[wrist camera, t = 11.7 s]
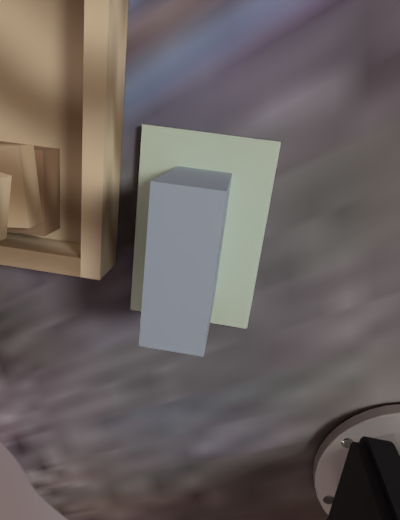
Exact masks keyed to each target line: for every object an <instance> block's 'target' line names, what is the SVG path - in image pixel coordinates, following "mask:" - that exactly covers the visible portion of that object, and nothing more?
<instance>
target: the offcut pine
mask: <svg viewBox="0 0 400 520" xmlns="http://www.w3.org/2000/svg"><path fill="white" fill-rule="evenodd" d="M11 180H12V175H8V174H5V173H1V172H0V241H1V240H3V239H5V238H6V237H7V226H8V214H9V203H10V191H11Z"/></svg>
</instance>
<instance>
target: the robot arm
mask: <svg viewBox="0 0 400 520" xmlns="http://www.w3.org/2000/svg"><path fill="white" fill-rule="evenodd" d="M313 480H314V486H315V490H316V495H317V498H318V500H319V502H320V504H321V506H322V508H323V510H324V511H325V512H326V514H327V515H328V519H327V520H400V404H397V405H387V406H382V407H378V408H374V409H370V410H367V411H365V412H362V413H360V414H358V415H355V416H353V417H351V418H350V419H348V420H346V421H345V422H343V423H342V424H340V425H339V426H337V427H336V428H335V429H334V430H333V431H332V432H331V433H330V434H329V435H328V436H327V437H326V439H325V440H324V441H323V443H322V444H321V445H320V447H319V449H318V452H317V454H316V456H315V459H314V465H313Z"/></svg>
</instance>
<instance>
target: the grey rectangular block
mask: <svg viewBox="0 0 400 520" xmlns="http://www.w3.org/2000/svg"><path fill="white" fill-rule="evenodd" d="M231 179H232V173H228V172H220V171H213V170H205V169H198V168H190V167H182V166H178V167H176V168H174V169H172V170H170V171H168V172H167V173H165V174H163V175H161V176H159V177H157V178H156V179H154V180H152V181H151V183H150V197H149V211H148V225H147V239H146V253H145V267H144V281H143V295H142V309H141V323H140V337H139V346H142V347H148V348H154V349H160V350H166V351H172V352H178V353H184V354H190V355H196V356H203V357H204V352H205V347H206V342H207V336H208V331H209V325H210V320H211V315H212V309H213V304H214V299H215V292H216V285H217V278H218V271H219V264H220V257H221V250H222V243H223V236H224V229H225V222H226V215H227V208H228V201H229V193H230V186H231Z"/></svg>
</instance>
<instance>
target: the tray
mask: <svg viewBox="0 0 400 520" xmlns="http://www.w3.org/2000/svg"><path fill="white" fill-rule="evenodd" d="M128 1H129V0H0V141H5V142H12V143H20V144H29V145H35V146H42V147H50V148H57V149H60V229H58V230H56V231H54V232H52V233H50V234H49V235H47V236H38V235H32V234H25V233H18V232H12V231H7V237H6V238H5V239H3V240H1V241H0V265H7V266H13V267H19V268H26V269H32V270H38V271H45V272H51V273H57V274H64V275H70V276H76V277H83V278H89V279H95V280H101V279H102V277H103V276H104V275H105V274H106V273H107V272H108V271H109V270H110V269H111V268H112V267H113V266H114V265H115V264H116V254H117V233H118V211H119V190H120V169H121V148H122V127H123V106H124V85H125V64H126V43H127V22H128Z"/></svg>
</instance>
